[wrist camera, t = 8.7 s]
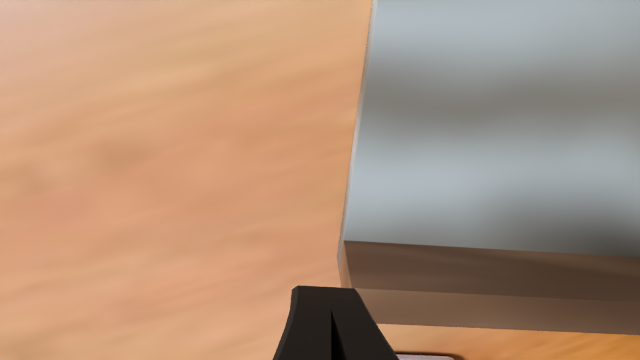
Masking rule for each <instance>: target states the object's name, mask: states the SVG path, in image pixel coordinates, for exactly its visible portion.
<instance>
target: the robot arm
mask: <svg viewBox="0 0 640 360" xmlns="http://www.w3.org/2000/svg"><path fill="white" fill-rule="evenodd" d="M273 360H454V359H453V358H452V357H448V356H424V355H398V354H395V352H394V351H393V349H392V348H391V346H390V345H389V344H388V342H387V340H386V339H385V337H384V336H383V334H382V333H381V331H380V329H379V328H378V326H377V325H376V323H375V321H374V320H373V318H372V316H371V315H370V313H369V311H368V309H367V308H366V306H365V304H364V302H363V300H362V298H361V297H360V295H359V293H358V292H357V291H356V290H355V288H336V287H316V286H297V287H295V288H294V289H292V295H291V305H290V312H289V316H288V319H287V323H286V326H285V329H284V332H283V334H282V337H281V340H280V342H279V345H278V348H277V350H276V353H275V355H274V358H273Z"/></svg>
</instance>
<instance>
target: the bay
mask: <svg viewBox="0 0 640 360" xmlns="http://www.w3.org/2000/svg"><path fill="white" fill-rule="evenodd" d="M337 260H338V268H339V275H340V282H341V288H355V290H356V291H357V292H358V293H359V295H360V297H361V298H362V300H363V302H364V304H365V306H366V308H367V309H368V311H369V313H370V315H371V316H372V318H373V320H374V321H375V323H377V324H400V325H423V326H446V327H468V328H491V329H514V330H537V331H559V332H582V333H605V334H628V335H640V0H373V4H372V11H371V18H370V25H369V32H368V39H367V47H366V54H365V61H364V68H363V75H362V82H361V90H360V97H359V104H358V111H357V118H356V125H355V133H354V140H353V147H352V154H351V161H350V168H349V176H348V183H347V190H346V197H345V204H344V211H343V219H342V226H341V233H340V240H339V247H338V254H337Z"/></svg>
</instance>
